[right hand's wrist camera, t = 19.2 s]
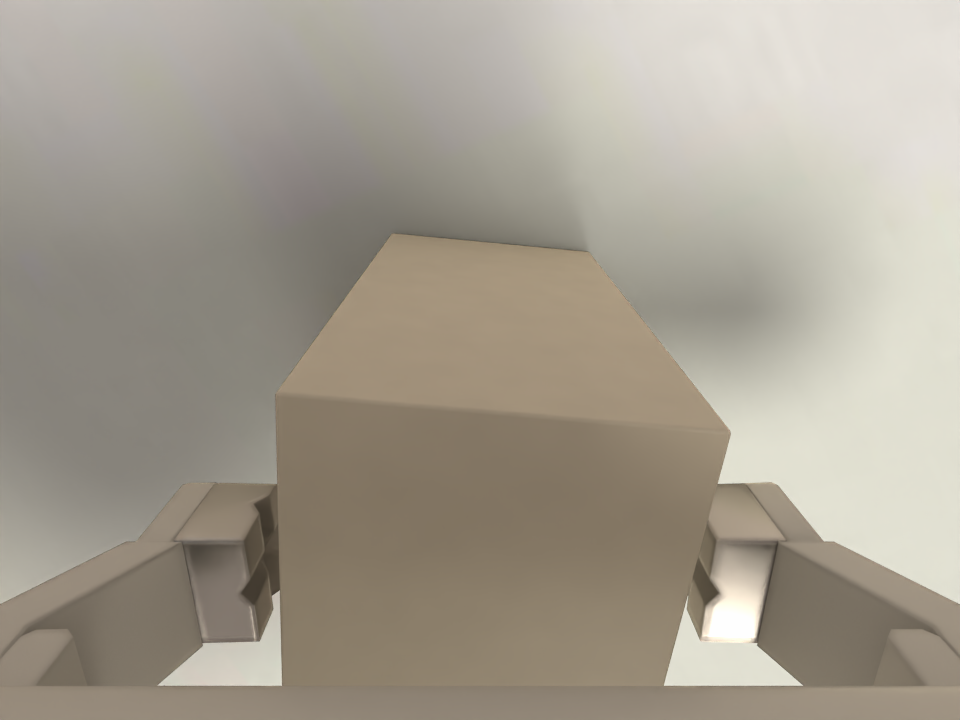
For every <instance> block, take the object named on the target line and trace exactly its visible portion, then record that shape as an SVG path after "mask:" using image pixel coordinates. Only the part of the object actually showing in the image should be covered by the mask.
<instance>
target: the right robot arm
mask: <svg viewBox="0 0 960 720" xmlns="http://www.w3.org/2000/svg"><path fill="white" fill-rule="evenodd" d="M279 590H280V573H279V530H278V488H277V484H251V483H216V482H214V483H187V484H183V485H182V486H181V487H180V488H179V490H178V491H177V492H176V493H175V495H174V496H173V497H172V498H171V499H170V501H169V502H168V503H167V504H166V506H165V507H164V508H163V509H162V511H161V512H160V513H159V514H158V515H157V517H156V518H155V519H154V520H153V522H152V523H151V524H150V525H149V526H148V528H147V529H146V530H145V531H144V533H143V534H142V535H141V536H140V538H139V539H138V540H137V541H136V542H125V543H123V544H121V545H119V546H117V547H115V548H113V549H111V550H109V551H107V552H104V553H102V554H100V555H98V556H96V557H94V558H92V559H90V560H88V561H86V562H84V563H82V564H80V565H78V566H76V567H74V568H72V569H70V570H68V571H66V572H64V573H62V574H60V575H58V576H56V577H54V578H52V579H50V580H48V581H46V582H44V583H42V584H40V585H38V586H36V587H34V588H32V589H30V590H28V591H26V592H24V593H22V594H20V595H18V596H16V597H14V598H12V599H10V600H8V601H6V602H4V603H2V604H0V720H960V604H958V603H956V602H954V601H952V600H950V599H948V598H946V597H944V596H942V595H940V594H938V593H936V592H934V591H932V590H930V589H928V588H926V587H924V586H922V585H920V584H918V583H916V582H914V581H912V580H910V579H908V578H906V577H904V576H902V575H900V574H898V573H896V572H894V571H892V570H890V569H888V568H886V567H884V566H882V565H880V564H878V563H876V562H874V561H872V560H870V559H868V558H866V557H864V556H862V555H860V554H858V553H856V552H854V551H852V550H850V549H848V548H846V547H844V546H841V545H839V544H837V543H835V542H824V541H823V540H822V539H821V537H820V536H819V535H818V534H817V533H816V531H815V530H814V529H813V528H812V526H811V525H810V524H809V523H808V522H807V520H806V519H805V518H804V517H803V515H802V514H801V513H800V512H799V511H798V509H797V508H796V507H795V506H794V504H793V503H792V502H791V501H790V500H789V498H788V497H787V496H786V495H785V493H784V492H783V491H782V490H781V489H780V487H779V486H778V485H776V484H774V483H772V482H764V483H740V484H717V488H716V491H715V495H714V499H713V503H712V506H711V510H710V514H709V517H708V521H707V525H706V529H705V532H704V536H703V540H702V544H701V547H700V551H699V555H698V559H697V562H696V566H695V570H694V574H693V577H692V581H691V585H690V588H689V592H688V603H687V611H688V613H689V615H690V618H691V620H692V622H693V625H694V627H695V629H696V632H697V634H698V636H699V639H700V641H705V642H742V643H758V644H757V646H758V647H759V648H761V649H762V650H763V651H764V652H765V653H766V654H768V655H769V656H770V657H771V658H772V659H773V660H774V661H776V662H777V663H778V664H779V665H780V666H781V667H783V668H784V669H785V670H786V671H787V672H788V673H790V674H791V675H792V676H793V677H794V678H795V679H796V680H798V681H799V682H800V683H801V684H802V685H803V686H157V685H158V684H159V683H160V682H162V681H163V680H164V679H165V678H166V677H167V676H169V675H170V674H171V673H172V672H173V671H174V670H175V669H177V668H178V667H179V666H180V665H181V664H182V663H184V662H185V661H186V660H187V659H188V658H189V657H191V656H192V655H193V654H194V653H195V652H196V651H197V650H199V649H200V648H201V647H202V646H203V644H202V643H218V642H253V641H260V639H261V637H262V634H263V632H264V630H265V627H266V625H267V623H268V620H269V618H270V616H271V613H272V611H273V603H272V595H274V594H275V593H276V592H278V591H279Z"/></svg>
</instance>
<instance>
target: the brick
mask: <svg viewBox="0 0 960 720" xmlns="http://www.w3.org/2000/svg"><path fill="white" fill-rule="evenodd" d="M275 404H276V446H277V488H278V530H279V573H280V615H281V657H282V686H664V682H665V678H666V674H667V671H668V667H669V663H670V659H671V656H672V652H673V648H674V645H675V641H676V637H677V633H678V630H679V626H680V622H681V618H682V615H683V611H684V607H685V603H686V600H687V596H688V592H689V588H690V585H691V581H692V577H693V574H694V570H695V566H696V562H697V559H698V555H699V551H700V547H701V544H702V540H703V536H704V532H705V529H706V525H707V521H708V517H709V514H710V510H711V506H712V503H713V499H714V495H715V491H716V488H717V484H718V480H719V476H720V473H721V469H722V465H723V461H724V458H725V454H726V450H727V446H728V443H729V439H730V435H731V433H730V430H729V429H728V427H727V426H726V425H725V424H724V422H723V421H722V420H721V419H720V417H719V416H718V415H717V414H716V412H715V411H714V410H713V408H712V407H711V406H710V405H709V403H708V402H707V401H706V400H705V398H704V397H703V396H702V395H701V393H700V392H699V391H698V389H697V388H696V387H695V386H694V384H693V383H692V382H691V381H690V379H689V378H688V377H687V376H686V374H685V373H684V372H683V371H682V369H681V368H680V367H679V365H678V364H677V363H676V362H675V360H674V359H673V358H672V357H671V355H670V354H669V353H668V352H667V350H666V349H665V348H664V346H663V345H662V344H661V343H660V341H659V340H658V339H657V338H656V336H655V335H654V334H653V333H652V331H651V330H650V329H649V327H648V326H647V325H646V324H645V322H644V321H643V320H642V319H641V317H640V316H639V315H638V314H637V312H636V311H635V310H634V308H633V307H632V306H631V305H630V303H629V302H628V301H627V300H626V298H625V297H624V296H623V295H622V293H621V292H620V291H619V289H618V288H617V287H616V286H615V284H614V283H613V282H612V281H611V279H610V278H609V277H608V276H607V274H606V273H605V272H604V270H603V269H602V268H601V267H600V265H599V264H598V263H597V262H596V260H595V259H594V258H593V257H592V255H591V254H590V253H589V252H584V251H573V250H563V249H552V248H542V247H531V246H521V245H510V244H500V243H489V242H479V241H468V240H457V239H447V238H436V237H426V236H415V235H405V234H394V233H393V234H391V236H390V237H389V238H388V240H387V241H386V242H385V244H384V245H383V247H382V248H381V249H380V251H379V252H378V253H377V255H376V256H375V258H374V259H373V260H372V262H371V263H370V264H369V266H368V267H367V269H366V270H365V271H364V273H363V274H362V275H361V277H360V278H359V279H358V281H357V282H356V284H355V285H354V286H353V288H352V289H351V290H350V292H349V293H348V295H347V296H346V297H345V299H344V300H343V301H342V303H341V304H340V306H339V307H338V308H337V310H336V311H335V312H334V314H333V315H332V317H331V318H330V319H329V321H328V322H327V323H326V325H325V326H324V328H323V329H322V330H321V332H320V333H319V334H318V336H317V337H316V339H315V340H314V341H313V343H312V344H311V345H310V347H309V348H308V350H307V351H306V352H305V354H304V355H303V356H302V358H301V359H300V361H299V362H298V363H297V365H296V366H295V367H294V369H293V370H292V371H291V373H290V374H289V376H288V377H287V378H286V380H285V381H284V382H283V384H282V385H281V387H280V388H279V389H278V391H277V392H276V394H275Z"/></svg>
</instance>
